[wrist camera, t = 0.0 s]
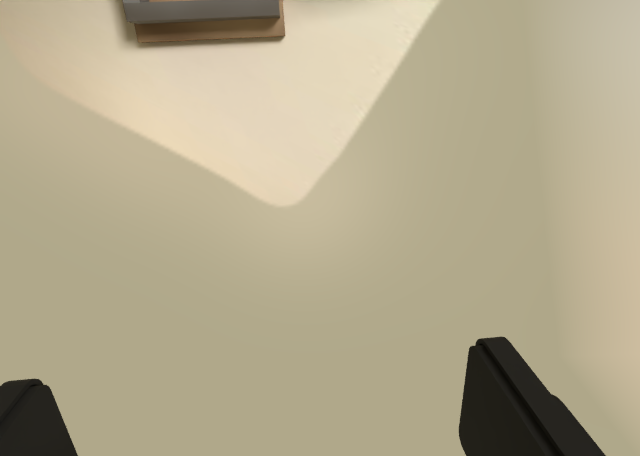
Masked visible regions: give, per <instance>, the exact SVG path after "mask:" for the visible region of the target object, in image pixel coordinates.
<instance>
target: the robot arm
mask: <svg viewBox="0 0 640 456" xmlns="http://www.w3.org/2000/svg"><path fill="white" fill-rule="evenodd" d="M459 437H460V441H461V445H462V447H463V450H464V452H465V454H466V456H605V455H604V453H603V452H602V451H601V449H600V448H599V447H598V446H597V444H596V443H595V442H594V441H593V439H592V438H591V437H590V436H589V434H588V433H587V432H586V431H585V429H584V428H583V427H582V426H581V425H580V423H579V422H578V421H577V420H576V418H575V417H574V416H573V415H572V413H571V412H570V411H569V410H568V409H567V407H566V406H565V405H564V404H563V402H562V401H560V399H559V398H557V397H556V396H554V395H551V394H550V392H549V391H548V390H547V389H546V387H545V386H544V385H543V384H542V382H541V381H540V380H539V378H537V376H536V375H535V373H534V372H533V371H532V370H531V368H530V367H529V366H528V365H527V363H526V362H525V361H524V359H523V358H522V357H521V356H520V354H519V353H518V352H517V351H516V350H515V348H514V347H513V346H512V344H511V343H510V342H509V341H508V340H507V339H506V338H505V337H495V338H484V339H478V340H477V342H476V345H475V346H471V347H470V348H469V355H468V362H467V369H466V377H465V385H464V393H463V400H462V409H461V416H460V424H459ZM0 456H78V455H77V453H76V450H75V448H74V445H73V443H72V441H71V438H70V436H69V433H68V431H67V428H66V426H65V423H64V421H63V419H62V416H61V414H60V411H59V409H58V406H57V404H56V401H55V399H54V396H53V394H52V391H51V389H50V388H49V386H47V385H43V383H42V382H41V381H40V380H39V379H27V380H17V381H8V382H5V383H3V384H2V386H0Z"/></svg>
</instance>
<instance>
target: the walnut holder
mask: <svg viewBox="0 0 640 456" xmlns="http://www.w3.org/2000/svg"><path fill="white" fill-rule="evenodd" d="M123 5H124V10H125V14H126V19H127V22H131V23H134V24H135V29H136V34H137V39H138V42H142V43H143V42H165V41H187V40H209V39H231V38H253V37H275V36H285V27H284V13H283V0H123Z"/></svg>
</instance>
